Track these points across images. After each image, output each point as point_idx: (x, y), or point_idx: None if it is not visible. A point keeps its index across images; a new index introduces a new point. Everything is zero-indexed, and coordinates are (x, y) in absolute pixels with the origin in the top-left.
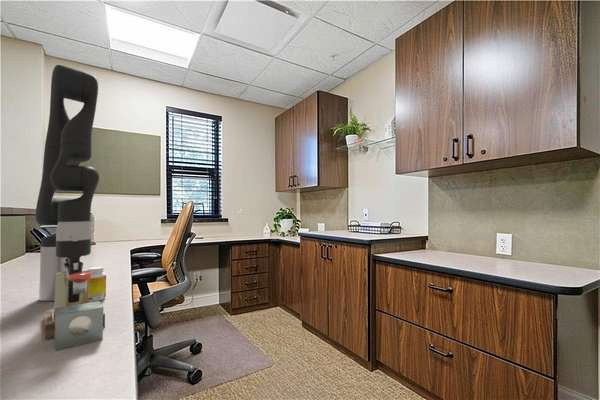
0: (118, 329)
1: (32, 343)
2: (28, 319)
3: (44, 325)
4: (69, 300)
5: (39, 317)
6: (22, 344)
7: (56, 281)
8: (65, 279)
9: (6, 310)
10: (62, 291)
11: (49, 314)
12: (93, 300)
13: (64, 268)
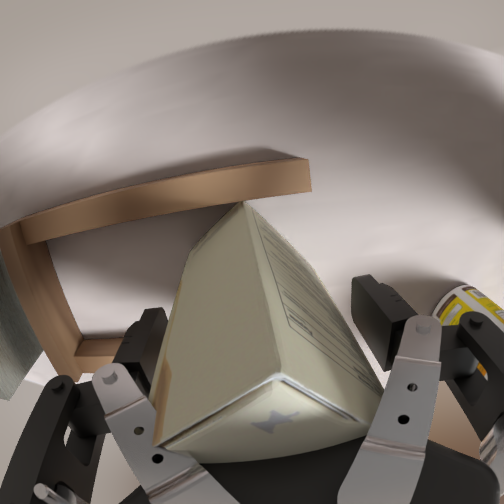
0: (54, 373)
1: (16, 188)
2: (341, 98)
3: (118, 190)
4: (143, 317)
5: (345, 136)
6: (19, 162)
7: (248, 310)
8: (157, 397)
9: (494, 55)
10: (189, 308)
11: (221, 192)
12: (432, 315)
13: (183, 500)
